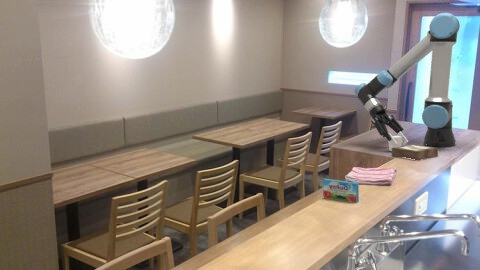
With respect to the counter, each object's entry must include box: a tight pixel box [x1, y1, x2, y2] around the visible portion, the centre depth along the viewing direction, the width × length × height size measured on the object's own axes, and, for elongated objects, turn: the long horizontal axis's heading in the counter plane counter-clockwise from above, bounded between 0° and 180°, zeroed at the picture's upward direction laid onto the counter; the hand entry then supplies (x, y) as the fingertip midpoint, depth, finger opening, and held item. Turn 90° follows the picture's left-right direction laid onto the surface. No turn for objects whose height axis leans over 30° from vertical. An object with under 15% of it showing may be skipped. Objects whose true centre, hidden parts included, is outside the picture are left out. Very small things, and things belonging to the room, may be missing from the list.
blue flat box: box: [322, 178, 360, 204], centre depth 150 cm, size 12×2×6 cm, turn 50°
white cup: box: [387, 135, 403, 152], centre depth 226 cm, size 7×7×7 cm
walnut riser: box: [391, 143, 439, 161], centre depth 212 cm, size 14×14×4 cm
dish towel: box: [344, 166, 398, 186], centre depth 177 cm, size 17×23×4 cm
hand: (400, 144), depth 223 cm, fingers closed on white cup, 7 cm apart
